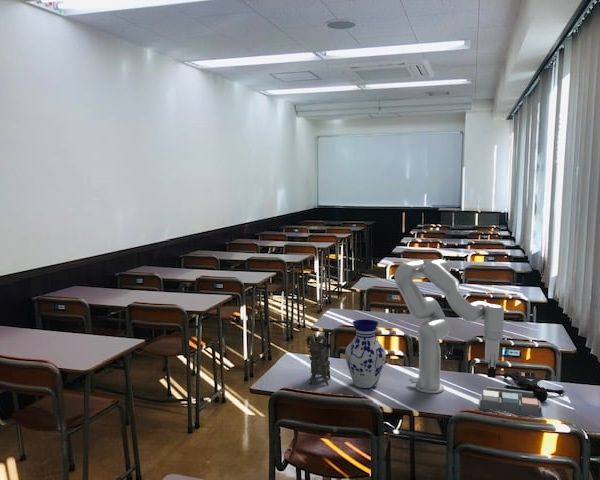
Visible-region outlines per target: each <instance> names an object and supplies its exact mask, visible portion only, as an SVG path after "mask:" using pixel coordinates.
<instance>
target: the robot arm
mask: <svg viewBox="0 0 600 480" xmlns="http://www.w3.org/2000/svg"><path fill="white" fill-rule="evenodd" d="M422 278H426V279H427V280H429V281H430V282H431V284H433V285H434V286H435V287H436V288H437V289H438V290H439V291H441V293H442V294H444V296H445V298H446V301H447V302H448V305H449V306H450V308H451V310H453V312H455V313H456V315H458V316H459V318H461V319H463V320H464V321H466V322H469V323H473V322H476V321H478V320H482V319H483V338H484V339H485V346H484V347H485V349H484V354H485V355H484V362H485V363H488V365H487V378H491V379H496V377H497V376H496V375H497V367H496V364H498V361H499V355H500V353H499V352H500V341H501V340H503V339H504V337H503V336H504V320H505V319H504V318H505V317H504V315H505V308H504V307H503V305H500V304H495V303H488V302H485V301H483V300H476V301H472V302H469V301H468V300H467V299H466V298H465V297H464V296H463V295H462V294H461V292H460V290H459V287H460V281H459V279H457V278H456V277H455V276H454V275H453V274H451V266H450V265H449V263H448V261H446V260H444V259H440V258H439V259H417V260H410V261H407V262H404V263H401V264H400V265H399V266H398V267H397V268H396V270H395V273H394V283H395V285H396V287H397V289H398V291H399V293H400V294H401V296H402V297H403V300H404V303H405V304H406V307H407V309H408V310H409V312H410V316H412V318H413V319H414V320H418V321H422V320H426V321H424V322H422V323H421V324H420V325H419V326H418V329H417V332H416V333H417V340H418V351H419V352H418V354H419V356H418V359H419V360H418V364H419V365H418V377H417V376H416V377H413V376H412V377H411V376H410V377H409V379H408V380H409V382H411V384H415V389H416V390H417V391H419V392H422V393H426V394H439V393H441V392H443V391H444V389H445V388H444V385H443V384H441V357H442V356H441V353H442V352H441V346H440V342H439V340H441V339H444V338H445V337H447V336H448V335H449V333H450V331H451V329H450V324H449V321H448V319H447V317H446V316H445V313H444V311H443V310H442V309H443V308H441V306H440V303H439V302H438V301H437V300H436V299H435V298H433V297H431V296H423V294H422V292H421V290H420V288H419V286H417V283H415V282H414V280H417V279H422Z"/></svg>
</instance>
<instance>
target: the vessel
mask: <svg viewBox="0 0 600 480" xmlns="http://www.w3.org/2000/svg"><path fill="white" fill-rule="evenodd" d="M305 340H306V346H307V348H308V349H309V350H308V353H310V355H308V358H309V360H310V361H311V362H310V374H311V376H310V379H309V382H308V385H311V384H312V383H313V382H314V380H315V378H316V377H319V376H320V375H322V376H321V377H322V380H323V381H324V383H325V385H327V386H328V385H329V381H328V380H329V379H331V378H332V377H331V371H330V370H331V366H330V365H331V363H330V360H329V348H331V346H332V344H331V343H328V339H327V337H326V336H324V335H321V334H319V333H318V336H316V334H315V333H314V334H313V335H309V336H307V338H305ZM328 378H329V379H328ZM329 386H330V385H329Z"/></svg>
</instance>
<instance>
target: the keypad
mask: <svg viewBox="0 0 600 480" xmlns="http://www.w3.org/2000/svg"><path fill="white" fill-rule="evenodd" d="M486 389H487V390H488V391H497V392H499V402H495V401H487V400H483V393H480V395H479V402H478V403H479V404H478V408H479V409H480V410H481V409H482V410H490V409H491V411H496V410H500V411H499V412H504V411H506V412H505V413H512V412H515V413H514V414H519V413H520V415H529V416H536V417H537V416H538V417H544V416H543V410H542V404H541V402H540V400H538V407H536V406H528V405H521V397H524V398H532V399H534V395H533V392H530V391H524V390H514V389H506V388H504V387H496V386H495V387H494V386H493V387H492V386H486ZM502 392H505V393H514V394H518V404H511V403H503V402H502Z"/></svg>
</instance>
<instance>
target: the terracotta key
mask: <svg viewBox="0 0 600 480" xmlns="http://www.w3.org/2000/svg"><path fill="white" fill-rule="evenodd" d="M521 405H528V406H536V407H538V400H537V399H536V398H533V399H532V398H524V397H521Z"/></svg>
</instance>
